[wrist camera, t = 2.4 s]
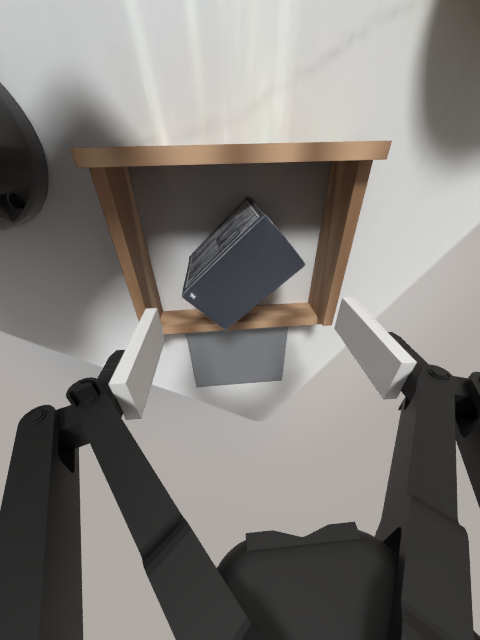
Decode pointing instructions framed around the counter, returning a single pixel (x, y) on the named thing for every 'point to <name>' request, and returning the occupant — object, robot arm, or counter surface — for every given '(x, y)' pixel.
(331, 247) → the open wooden tray
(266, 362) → the mat
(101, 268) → the counter surface
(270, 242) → the small box
